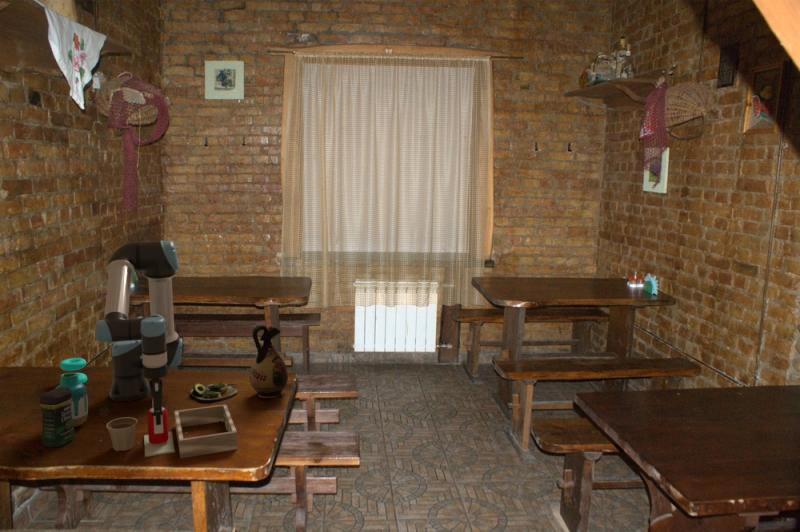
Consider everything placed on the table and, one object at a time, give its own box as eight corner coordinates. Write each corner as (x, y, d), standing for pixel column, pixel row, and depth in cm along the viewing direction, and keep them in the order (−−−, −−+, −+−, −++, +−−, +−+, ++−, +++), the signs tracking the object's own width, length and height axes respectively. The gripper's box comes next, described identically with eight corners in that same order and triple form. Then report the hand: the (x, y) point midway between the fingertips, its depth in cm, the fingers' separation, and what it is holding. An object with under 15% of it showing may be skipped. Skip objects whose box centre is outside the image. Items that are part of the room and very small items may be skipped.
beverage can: (168, 445, 207) (166, 411, 205) (148, 447, 205) (146, 413, 203) (169, 437, 213) (167, 404, 211) (149, 439, 211) (148, 406, 209)
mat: (144, 436, 214) (144, 435, 214) (171, 432, 218) (171, 431, 218) (145, 457, 200) (144, 455, 200) (174, 452, 203) (174, 450, 203)
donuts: (89, 361, 263) (63, 365, 256) (90, 383, 264) (65, 388, 258) (82, 355, 270) (56, 360, 263) (83, 377, 272) (58, 382, 265)
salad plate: (226, 382, 269) (226, 372, 268) (247, 394, 256) (247, 383, 256) (184, 393, 256) (183, 382, 255) (204, 406, 243) (203, 395, 242)
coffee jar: (58, 449, 204) (54, 396, 201) (38, 446, 206) (33, 393, 203) (79, 437, 213) (76, 386, 210) (60, 434, 215) (56, 383, 212)
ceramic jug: (274, 385, 266) (273, 317, 261) (295, 395, 255) (294, 324, 250) (239, 395, 254) (237, 324, 249) (259, 405, 243) (258, 332, 238)
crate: (175, 426, 223) (174, 410, 222) (226, 419, 230) (226, 404, 229) (180, 458, 199) (179, 440, 198) (237, 449, 206) (236, 432, 205)
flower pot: (127, 455, 201) (125, 430, 199) (101, 452, 203) (100, 427, 201) (144, 442, 210) (143, 418, 208) (120, 439, 212) (118, 416, 210)
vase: (55, 434, 215) (51, 381, 212) (56, 422, 224) (52, 372, 221) (89, 428, 220) (85, 377, 217) (88, 417, 229) (85, 368, 226)
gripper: (142, 354, 214) (145, 411, 218) (143, 378, 191) (146, 442, 195) (165, 352, 217) (167, 408, 221) (169, 375, 194) (172, 438, 198)
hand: (158, 424), depth 208 cm, fingers open, 13 cm apart
